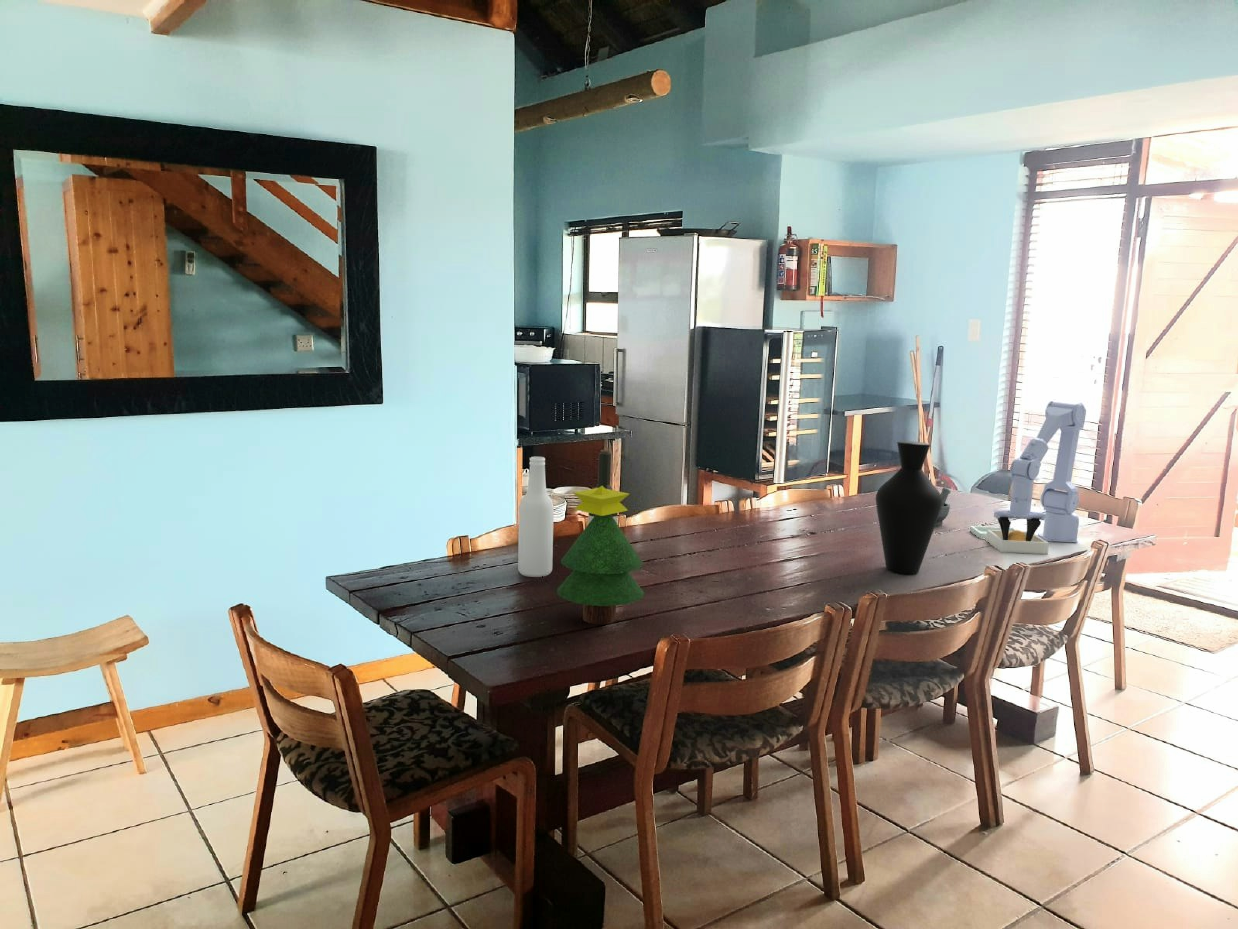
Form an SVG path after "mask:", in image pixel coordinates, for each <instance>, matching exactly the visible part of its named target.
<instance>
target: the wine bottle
mask: <svg viewBox="0 0 1238 929" xmlns="http://www.w3.org/2000/svg"><path fill="white" fill-rule="evenodd" d="M611 461H612V453H610V450H609V449H601V450H600V452H599V453H598V470H597V474H598V475H597V484H596V485H595V488H599V487H601V486H603V487H604V488H605V489H610V490H613V488H612V486H611V466H612V464H611V463H612V462H611ZM587 513H588V512H587ZM595 515H596V514H592V513H588V518H587V525H588V524H589V523H590V522H591V520H592V519H593V518H594V516H595ZM611 515H612V517H613V518H614V520H615V521H616V523H617V524H618V519H619V518H618V516H619V512H618V513H614V514H611Z"/></svg>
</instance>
